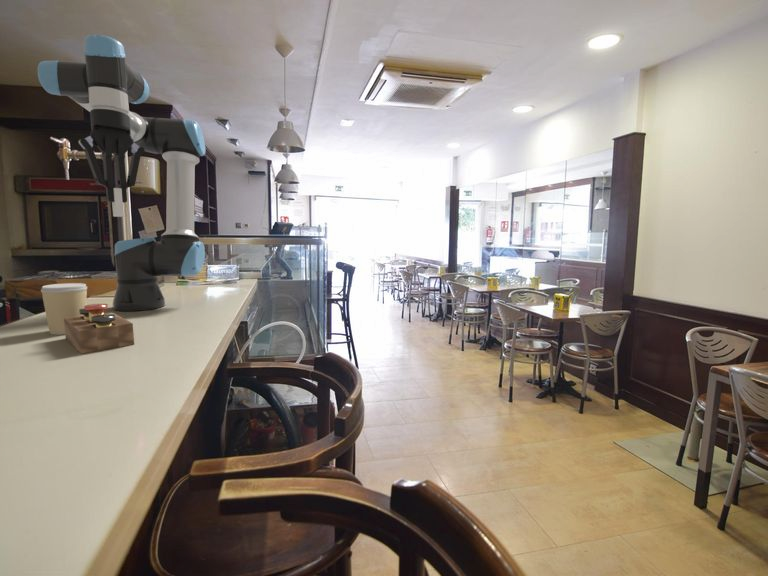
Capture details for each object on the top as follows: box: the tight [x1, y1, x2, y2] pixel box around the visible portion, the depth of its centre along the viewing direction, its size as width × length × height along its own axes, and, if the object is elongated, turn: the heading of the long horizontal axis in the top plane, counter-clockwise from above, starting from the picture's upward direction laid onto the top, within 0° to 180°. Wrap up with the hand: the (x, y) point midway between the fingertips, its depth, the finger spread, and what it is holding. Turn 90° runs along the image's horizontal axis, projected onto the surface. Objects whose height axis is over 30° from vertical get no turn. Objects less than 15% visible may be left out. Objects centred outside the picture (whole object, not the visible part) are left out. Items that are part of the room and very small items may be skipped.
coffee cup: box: [40, 282, 88, 336], centre depth 104 cm, size 9×9×12 cm
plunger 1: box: [79, 308, 89, 319], centre depth 99 cm, size 4×4×6 cm
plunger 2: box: [91, 314, 115, 328], centre depth 91 cm, size 4×4×6 cm
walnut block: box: [64, 312, 135, 354], centre depth 95 cm, size 10×17×5 cm, turn 47°
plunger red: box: [84, 303, 108, 323], centre depth 94 cm, size 4×4×6 cm
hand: (118, 216), depth 95 cm, fingers closed
